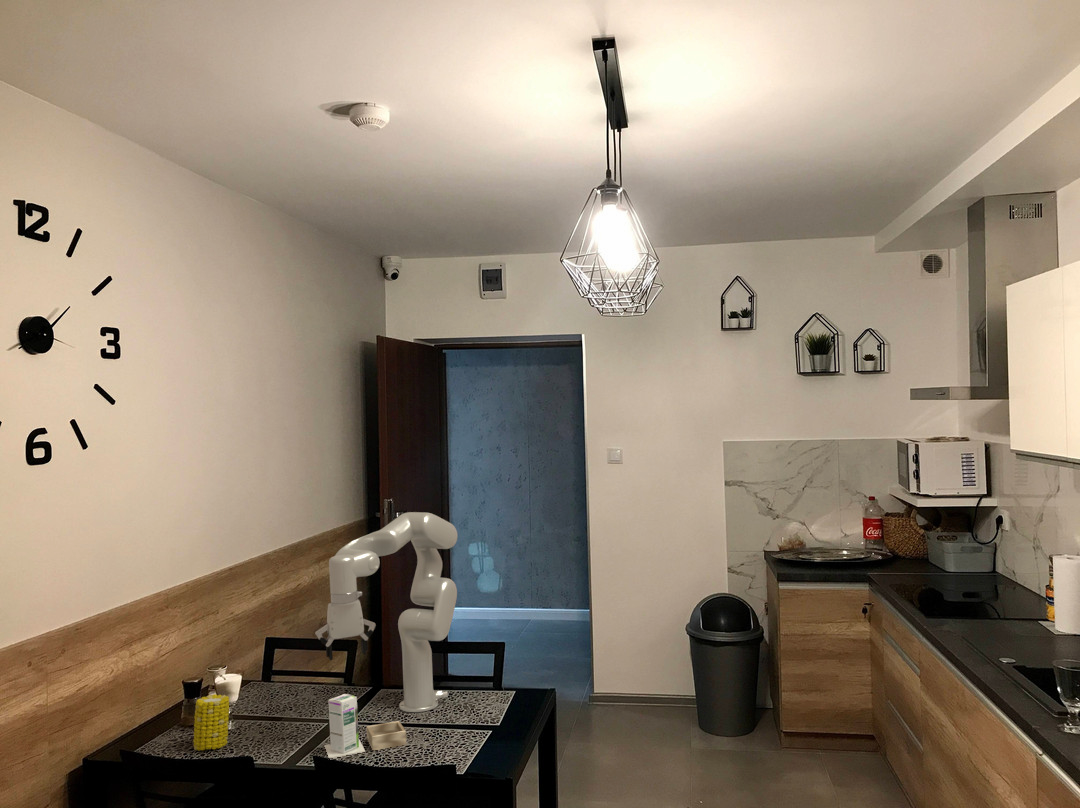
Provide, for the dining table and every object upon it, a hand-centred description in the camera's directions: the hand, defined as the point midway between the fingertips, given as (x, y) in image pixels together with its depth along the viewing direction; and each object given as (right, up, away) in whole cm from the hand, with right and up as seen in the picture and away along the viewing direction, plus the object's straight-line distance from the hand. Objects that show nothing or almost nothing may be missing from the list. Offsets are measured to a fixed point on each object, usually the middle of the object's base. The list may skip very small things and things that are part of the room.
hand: (347, 656), depth 244 cm
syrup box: (+1, -24, -7) cm, 25 cm away
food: (-40, -27, +1) cm, 48 cm away
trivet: (+1, -25, -7) cm, 26 cm away
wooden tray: (+12, -25, -2) cm, 27 cm away
